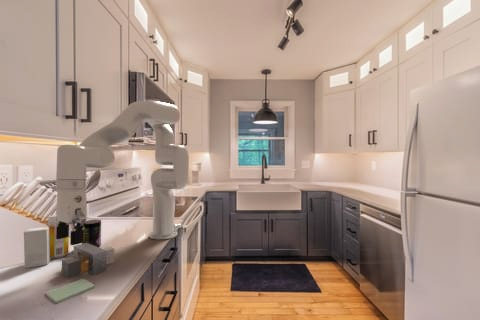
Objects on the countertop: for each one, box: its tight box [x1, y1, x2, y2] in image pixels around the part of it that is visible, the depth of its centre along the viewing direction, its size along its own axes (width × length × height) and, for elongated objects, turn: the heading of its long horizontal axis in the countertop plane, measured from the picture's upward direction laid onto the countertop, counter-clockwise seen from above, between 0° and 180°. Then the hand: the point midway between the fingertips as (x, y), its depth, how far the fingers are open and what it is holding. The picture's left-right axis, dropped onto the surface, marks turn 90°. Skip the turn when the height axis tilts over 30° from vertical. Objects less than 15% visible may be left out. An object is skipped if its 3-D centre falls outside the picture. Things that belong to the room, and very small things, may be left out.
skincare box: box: [23, 226, 51, 269], centre depth 80 cm, size 6×4×12 cm
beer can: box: [47, 214, 70, 260], centre depth 87 cm, size 6×6×15 cm
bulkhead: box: [73, 243, 107, 276], centre depth 78 cm, size 4×13×6 cm, turn 57°
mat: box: [44, 278, 96, 304], centre depth 64 cm, size 9×7×1 cm
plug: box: [61, 245, 115, 279], centre depth 78 cm, size 14×4×5 cm, turn 147°
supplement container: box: [81, 219, 102, 248], centre depth 96 cm, size 7×7×10 cm
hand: (69, 240), depth 73 cm, fingers open, 9 cm apart
